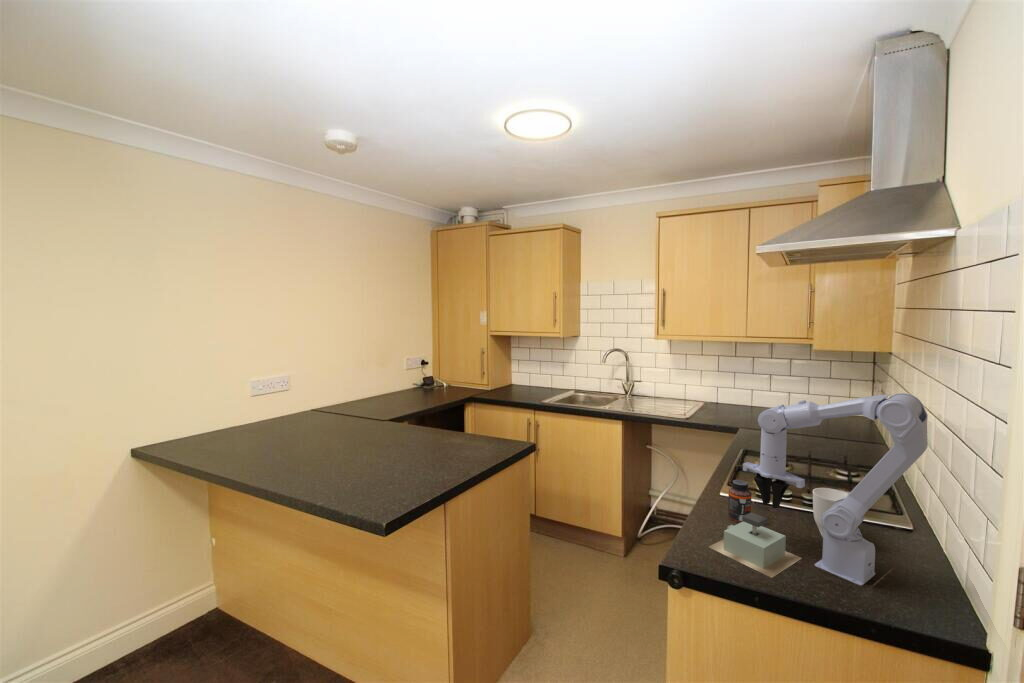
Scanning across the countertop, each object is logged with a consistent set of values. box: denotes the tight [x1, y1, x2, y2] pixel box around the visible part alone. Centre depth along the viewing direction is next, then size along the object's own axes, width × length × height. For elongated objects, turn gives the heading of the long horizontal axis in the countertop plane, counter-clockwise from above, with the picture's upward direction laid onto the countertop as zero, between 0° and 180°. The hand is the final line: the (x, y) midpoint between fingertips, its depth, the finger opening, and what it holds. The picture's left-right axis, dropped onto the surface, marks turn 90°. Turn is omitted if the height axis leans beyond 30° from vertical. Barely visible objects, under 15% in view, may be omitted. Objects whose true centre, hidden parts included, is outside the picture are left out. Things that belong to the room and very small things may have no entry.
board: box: [708, 538, 803, 579], centre depth 113 cm, size 16×14×1 cm
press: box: [723, 522, 787, 568], centre depth 113 cm, size 12×10×5 cm
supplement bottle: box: [727, 479, 752, 524], centre depth 130 cm, size 6×6×11 cm
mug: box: [812, 487, 849, 538], centre depth 120 cm, size 12×9×12 cm
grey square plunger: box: [742, 511, 768, 536], centre depth 112 cm, size 4×4×6 cm
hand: (771, 505), depth 116 cm, fingers closed
